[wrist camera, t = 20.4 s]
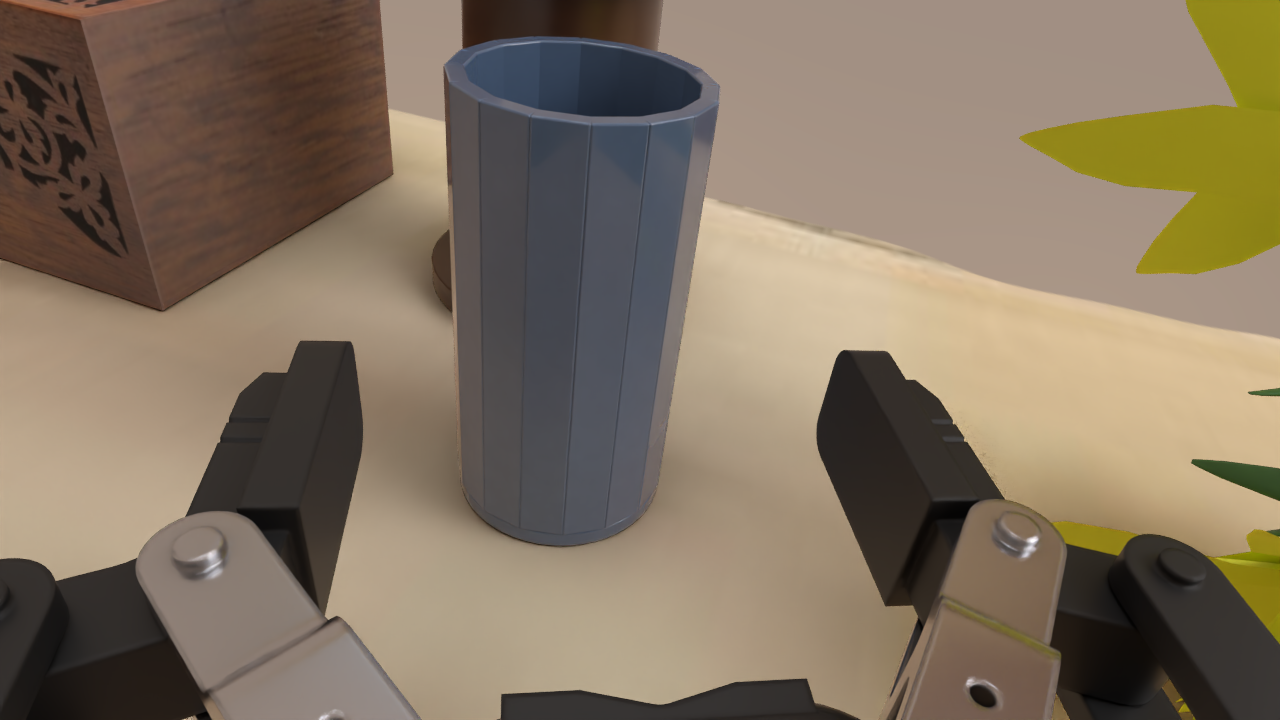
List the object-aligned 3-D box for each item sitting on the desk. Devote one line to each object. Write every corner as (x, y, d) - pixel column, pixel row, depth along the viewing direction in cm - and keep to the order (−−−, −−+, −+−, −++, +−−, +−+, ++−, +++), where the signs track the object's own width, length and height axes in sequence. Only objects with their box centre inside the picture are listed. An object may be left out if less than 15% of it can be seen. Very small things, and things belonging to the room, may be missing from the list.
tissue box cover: (393, 174, 41) (375, -46, 35) (162, 310, 29) (80, 19, 24) (0, 71, 46) (-71, -132, 41) (-319, 153, 35) (-482, -113, 29)
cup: (416, 489, 24) (383, 71, 17) (534, 386, 28) (547, 22, 21) (593, 580, 22) (639, 148, 15) (689, 454, 26) (760, 76, 19)
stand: (355, 289, 32) (306, -130, 24) (518, 197, 40) (524, -138, 32) (595, 391, 28) (637, -62, 20) (721, 267, 36) (787, -91, 28)
